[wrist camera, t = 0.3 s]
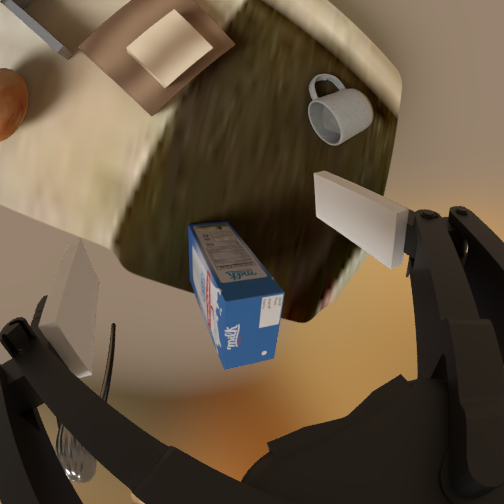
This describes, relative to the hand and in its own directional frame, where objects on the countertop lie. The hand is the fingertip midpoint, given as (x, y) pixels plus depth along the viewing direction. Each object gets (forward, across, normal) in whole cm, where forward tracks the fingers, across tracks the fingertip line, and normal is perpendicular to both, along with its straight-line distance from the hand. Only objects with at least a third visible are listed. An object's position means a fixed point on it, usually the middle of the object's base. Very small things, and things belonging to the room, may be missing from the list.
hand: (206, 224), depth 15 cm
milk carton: (+28, +3, -17) cm, 33 cm away
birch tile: (+24, +3, +13) cm, 28 cm away
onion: (+28, -20, +14) cm, 37 cm away
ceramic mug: (+28, +26, +2) cm, 39 cm away
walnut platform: (+28, +2, +15) cm, 32 cm away
